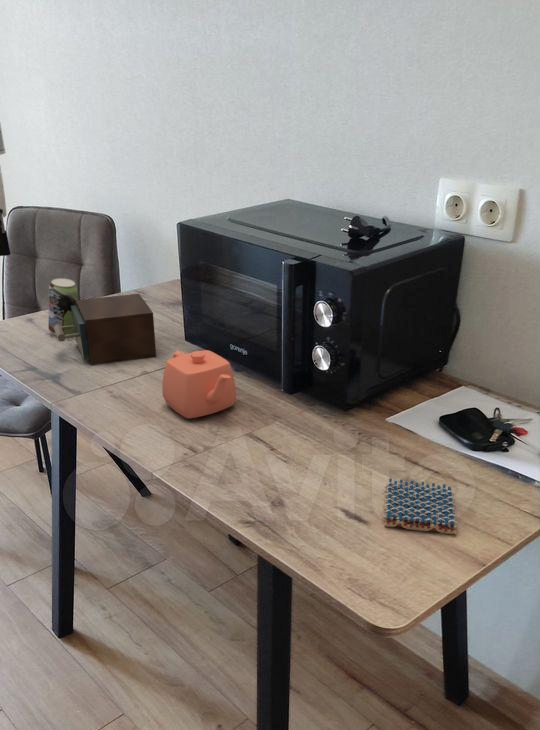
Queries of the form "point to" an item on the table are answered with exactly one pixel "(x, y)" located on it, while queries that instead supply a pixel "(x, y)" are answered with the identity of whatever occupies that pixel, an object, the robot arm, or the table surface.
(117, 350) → the cabinet
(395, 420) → the table surface
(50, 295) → the beverage can
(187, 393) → the teapot
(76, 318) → the drawer
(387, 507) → the woven mat
